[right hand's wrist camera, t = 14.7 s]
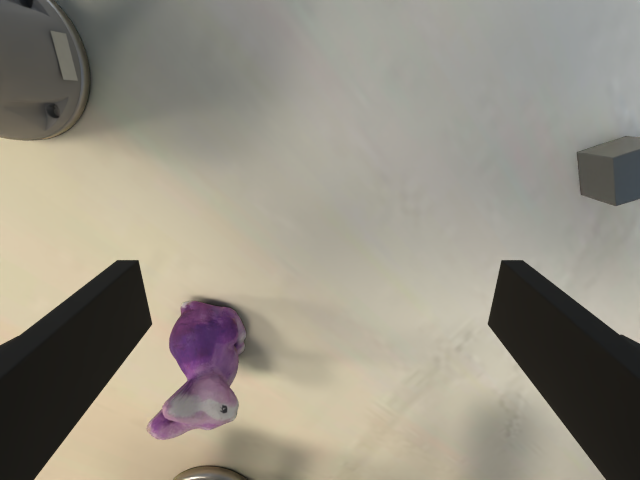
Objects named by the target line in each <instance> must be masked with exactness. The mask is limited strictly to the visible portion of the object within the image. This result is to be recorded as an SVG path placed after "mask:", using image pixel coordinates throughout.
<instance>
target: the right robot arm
mask: <svg viewBox="0 0 640 480" xmlns="http://www.w3.org/2000/svg"><path fill="white" fill-rule="evenodd" d="M89 90H90V71H89V64H88V59H87V55H86V52H85V49H84V46H83V43H82V41H81V39H80V36H79V35H78V33H77V31H76V29H75V27H74V26H73V24H72V22H71V21H70V19H69V18H68V16H67V15H66V14H65V12H64V11H63V10H62V9H61V8H60V6H59V5H58V4H57V3H56V2H55V1H54V0H0V137H1V138H6V139H14V140H39V139H47V138H51V137H55V136H57V135H60V134H62V133H63V132H65V131H67V130H68V129H69V128H71V127H72V126H73V125H74V124H75V123H76V122H77V120H78V119H79V118H80V116H81V114H82V113H83V111H84V109H85V106H86V103H87V100H88V96H89ZM151 325H152V321H151V316H150V312H149V307H148V302H147V298H146V293H145V288H144V284H143V279H142V275H141V270H140V265H139V261H138V260H117V261H116V262H114V263H113V264H112V265H111V266H109V267H108V268H107V269H105V270H104V271H103V272H101V273H100V274H99V275H98V276H96V277H95V278H94V279H92V280H91V281H90V282H88V283H87V284H86V285H85V286H83V287H82V288H81V289H79V290H78V291H77V292H75V293H74V294H73V295H72V296H70V297H69V298H68V299H66V300H65V301H64V302H63V303H61V304H60V305H59V306H57V307H56V308H55V309H53V310H52V311H51V312H50V313H48V314H47V315H46V316H44V317H43V318H42V319H40V320H39V321H38V322H37V323H35V324H34V325H33V326H31V327H30V328H29V329H27V330H26V331H25V332H24V333H22V334H21V335H20V336H17V337H15V338H13V339H11V340H10V341H8V342H6V343H4V344H2V345H0V480H34V479H35V478H36V476H37V475H38V474H39V472H40V471H41V470H42V468H43V467H44V466H45V464H46V463H47V462H48V460H49V459H50V458H51V457H52V455H53V454H54V453H55V451H56V450H57V449H58V447H59V446H60V445H61V443H62V442H63V441H64V439H65V438H66V437H67V436H68V434H69V433H70V432H71V430H72V429H73V428H74V426H75V425H76V424H77V422H78V421H79V420H80V418H81V417H82V416H83V415H84V413H85V412H86V411H87V409H88V408H89V407H90V405H91V404H92V403H93V401H94V400H95V399H96V397H97V396H98V395H99V394H100V392H101V391H102V390H103V388H104V387H105V386H106V384H107V383H108V382H109V380H110V379H111V378H112V376H113V375H114V374H115V373H116V371H117V370H118V369H119V367H120V366H121V365H122V363H123V362H124V361H125V359H126V358H127V357H128V355H129V354H130V353H131V351H132V350H133V349H134V348H135V346H136V345H137V344H138V342H139V341H140V340H141V338H142V337H143V336H144V334H145V333H146V332H147V330H148V329H149V328H150V327H151ZM488 325H489V327H490V328H491V329H492V330H493V332H494V333H495V334H496V336H497V337H498V338H499V340H500V341H501V342H502V344H503V345H504V346H505V348H506V349H507V350H508V352H509V353H510V354H511V355H512V357H513V358H514V359H515V361H516V362H517V363H518V365H519V366H520V367H521V369H522V370H523V371H524V373H525V374H526V375H527V376H528V378H529V379H530V380H531V382H532V383H533V384H534V386H535V387H536V388H537V390H538V391H539V392H540V394H541V395H542V396H543V397H544V399H545V400H546V401H547V403H548V404H549V405H550V407H551V408H552V409H553V411H554V412H555V413H556V415H557V416H558V417H559V418H560V420H561V421H562V422H563V424H564V425H565V426H566V428H567V429H568V430H569V432H570V433H571V434H572V436H573V437H574V438H575V439H576V441H577V442H578V443H579V445H580V446H581V447H582V449H583V450H584V451H585V453H586V454H587V455H588V457H589V458H590V459H591V460H592V462H593V463H594V464H595V466H596V467H597V468H598V470H599V471H600V472H601V474H602V475H603V476H604V478H605V479H606V480H640V344H639V343H637V342H635V341H633V340H631V339H629V338H628V337H626V336H624V335H619V334H618V333H616V332H615V331H614V330H613V329H611V328H610V327H609V326H607V325H606V324H605V323H603V322H602V321H601V320H600V319H598V318H597V317H596V316H594V315H593V314H592V313H590V312H589V311H588V310H587V309H585V308H584V307H583V306H581V305H580V304H579V303H577V302H576V301H575V300H574V299H572V298H571V297H570V296H568V295H567V294H566V293H565V292H563V291H562V290H561V289H559V288H558V287H557V286H555V285H554V284H553V283H552V282H550V281H549V280H548V279H546V278H545V277H544V276H542V275H541V274H540V273H539V272H537V271H536V270H535V269H533V268H532V267H531V266H529V265H528V264H527V263H526V262H524V261H523V260H502V261H501V265H500V270H499V275H498V279H497V284H496V288H495V293H494V298H493V302H492V307H491V312H490V316H489V321H488Z"/></svg>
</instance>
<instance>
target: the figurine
mask: <svg viewBox="0 0 640 480" xmlns="http://www.w3.org/2000/svg"><path fill="white" fill-rule="evenodd" d="M245 338H246V331H245V328H244V325H243V323H242V321H241V319H240V317H239V316H238V314H237V313H236V311H235V310H233V309H232V308H229V307H219V306H214V305H210V304H206V303H202V302H198V301H187V302H183V303H182V305H181V316H180V318H179V319H178V320H177V322H176V323H175V325H174V327H173V329H172V332H171V335H170V340H169V348H170V351H171V353H172V355H173V356H174V358H175V359H176V361H177V363H178V364H179V366H180V368H181V370H182V371H183V373H184V374H185V375H186V377H187V380H188V381H187V382H186V383H185V384H184V385H183V386H182V387H181V388H180V389H179V390H177V391H176V392H175V393H174V394H173V395H172V396H171V397H170V398H169V399H168V400H167V401H166V402H165V403H164V405H163V407H162V409H161V411H160V412H159V413H158V414H157V415H156V416H155V417H154V418H153V419H152V420H151V421H150V422H149V424H148V425H147V431H148V432H149V434H151V436H153V437H155V438H156V439H161V440H165V439H170V438H174V437H177V436H179V435H181V434H183V433H185V432H187V431H189V430H192V429H197V428H198V429H204V430H211V429H214V428H216V427H219V426H221V425H223V424H225V423H229V422H231V421H233V420H234V419H235V418H236V415H237V410H238V406H239V403H238V400H237V397H236V396H235V394H234V392H233V391H232V390H231V388H230V385H231V384H232V382H233V380H234V378H235V376H236V373H237V370H238V362H239V357H238V355H239V354H241V353H242V352H243V351H244V350H245V345H244V340H245Z"/></svg>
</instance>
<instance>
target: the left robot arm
mask: <svg viewBox="0 0 640 480" xmlns="http://www.w3.org/2000/svg"><path fill="white" fill-rule="evenodd" d="M174 480H247V479H246V478H244V477H243V476H241V475H240V474H238V473H236V472H233V471H231V470H228V469H224V468H220V467H211V466H204V467H196V468H192V469H189V470H186V471H184V472H182V473H180V474H179V475H178V476H176V477H175V478H174Z"/></svg>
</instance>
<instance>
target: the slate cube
mask: <svg viewBox="0 0 640 480" xmlns="http://www.w3.org/2000/svg"><path fill="white" fill-rule="evenodd" d="M577 158H578V168H579V178H580V189H581V195H583V196H586V197H589V198H592V199H595V200H598V201H602V202H605V203H608V204H611V205H614V206H618V205H621V204H624V203H628V202H631V201H634V200H638V199H640V137H630V136H625V137H622V138H619V139H616V140H613V141H609V142H606V143H603V144H600V145H597V146H594V147H591V148H588V149H585V150H582V151H579V152H577Z"/></svg>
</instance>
